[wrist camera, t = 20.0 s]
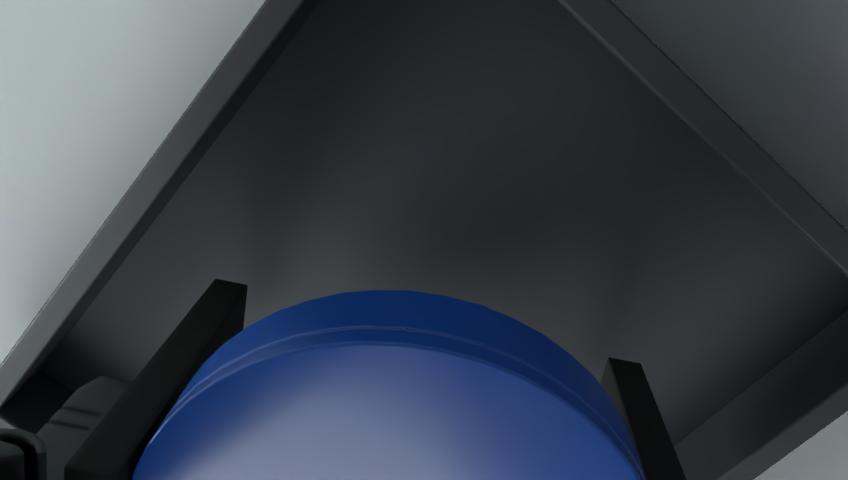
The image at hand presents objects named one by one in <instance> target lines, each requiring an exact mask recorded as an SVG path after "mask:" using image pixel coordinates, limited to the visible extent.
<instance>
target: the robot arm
mask: <svg viewBox="0 0 848 480" xmlns="http://www.w3.org/2000/svg"><path fill="white" fill-rule="evenodd" d="M247 289H248V285H245V284H240V283H235V282H230V281H225V280H220V279H215V280H214V281H213V282H212V283H211V285H210V286H209V287H208V288H207V290H206V291H205V292H204V293H203V295H202V296H201V297H200V298H199V300H198V301H197V302H196V303H195V305H194V306H193V307H192V308H191V310H190V311H189V312H188V313H187V315H186V316H185V317H184V318H183V320H182V321H181V322H180V323H179V325H178V326H177V327H176V328H175V330H174V331H173V332H172V333H171V335H170V336H169V337H168V338H167V340H166V341H165V342H164V343H163V345H162V346H161V347H160V348H159V350H158V351H157V352H156V353H155V355H154V356H153V357H152V358H151V359H150V361H149V362H148V363H147V364H146V366H145V367H144V368H143V369H142V371H141V372H140V373H139V374H138V376H137V377H136V378H135V379H134V381H133V382H132V381H127V380H122V379H117V378H112V377H107V376H100V377H98V378H97V379H95V380H93V381H91V382H89V383H87V384H85V385H83V386H82V387H80V388H78V389H77V390H76V391H75V392H74V393H73V394H72V396H71V397H70V398H69V399H68V400H67V401H66V402H65V403H64V404H63V405H62V409H59V410H58V411H57V412H56V413H55V414H54V415H53V416H52V417H51V418H50V420H49V423H46V424H45V425H44V426H43V427H42V428H41V429H40V430H39V432H38V433H37V434H34V433H31V432H28V431H25V430H22V429H7V428H0V480H131V478H132V475H133V472H134V469H135V467H136V465H137V463H138V461H139V459H140V457H141V456H142V454H143V452H144V450H145V448H146V446H147V444H148V443H149V441H150V440H151V438H152V437H153V435H154V434H155V432H156V431H157V430H158V428H159V426H160V425H161V423H162V422H163V420H164V419H165V417H166V416H167V414H168V413H169V411H170V410H171V408H172V407H173V405H174V404H175V402H176V401H177V399H178V398H179V396H180V395H181V393H182V392H183V390H184V389H185V387H186V386H187V385H188V383H189V382H190V381H191V379H192V378H193V377H194V375H195V374H196V372H197V371H198V370H199V368H200V367H201V366H202V364H203V363H204V362H205V361H206V360H208V359H209V358H210V357H211V356H212V355H213V354H214V353H215V352H216V351H217V350H218V349H219V348H220V347H221V346H222V345H223V344H224V343H226V342H227V341H228V340H230V339H231V338H233V337H234V336H235V335H237V334H238V333H240V332H241V331H242V330H243V327H244V317H245V308H246V298H247ZM600 385H601V386H602V387H603V388H604V390H605V391H606V392H607V393H608V395H609V396H610V397H611V399H612V400H613V401H614V403H615V405H616V406H617V408H618V410H619V412H620V413H621V415H622V417H623V419H624V420H625V422H626V424H627V426H628V428H629V430H630V433H631V436H632V438H633V441H634V444H635V446H636V449H637V451H638V454H639V458H640V461H641V464H642V467H643V470H644V473H645V477H646V480H687V479H686V477H685V474H684V472H683V469H682V467H681V464H680V462H679V459H678V456H677V454H676V451H675V449H674V446H673V444H672V441H671V439H670V436H669V434H668V431H667V429H666V426H665V424H664V421H663V419H662V416H661V413H660V411H659V408H658V406H657V403H656V401H655V398H654V396H653V393H652V391H651V388H650V386H649V383H648V381H647V378H646V376H645V373H644V370H643V368H642V365H641V363H636V362H631V361H626V360H621V359H616V358H611V357H608V360H607V363H606V366H605V369H604V372H603V375H602V378H601V381H600Z"/></svg>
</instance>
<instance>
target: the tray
mask: <svg viewBox="0 0 848 480" xmlns="http://www.w3.org/2000/svg"><path fill="white" fill-rule="evenodd" d="M215 279H220V280H225V281H230V282H235V283H240V284H245V285H248V289H247V298H246V308H245V317H244V327H243V330H244V329H245V328H246V327H248V326H250V325H252V324H254V323H256V322H257V321H259V320H261V319H263V318H265V317H267V316H269V315H271V314H273V313H274V312H277V311H279V310H282V309H285V308H288V307H291V306H294V305H296V304H299V303H302V302H305V301H308V300H312V299H317V298H321V297H326V296H330V295H334V294H337V293H343V292H357V291H368V290H410V291H419V292H424V293H431V294H438V295H445V296H449V297H453V298H457V299H461V300H464V301H468V302H473V303H478V304H480V305H484V306H486V307H488V308H490V309H492V310H495V311H497V312H500V313H502V314H505V315H507V316H510V317H512V318H514V319H516V320H518V321H520V322H521V323H523V324H525V325H527V326H529V327H531V328H532V329H534V330H537V331H539V332H541V333H542V334H543V335H545V336H547V337H548V338H549V339H550V340H552V341H553V342H554V343H556V344H557V345H559V346H560V347H561V348H563V349H564V350H565V351H567V352H568V353H570V354H571V355H572V356H573V357H574V358H575V359H576V360H577V361H578V362H579V363H580V364H581V365H583V366H584V367H585V368H586V369H587V370H588V371H589V372H590V373H591V374H592V375H593V376H594V377H595V378H596V380H597V381H598V382H599V383H600V381H601V378H602V375H603V372H604V369H605V366H606V363H607V360H608V357H611V358H616V359H621V360H626V361H631V362H636V363H641V365H642V368H643V370H644V373H645V376H646V378H647V381H648V383H649V386H650V388H651V391H652V393H653V396H654V398H655V401H656V403H657V406H658V408H659V411H660V413H661V416H662V419H663V421H664V424H665V426H666V429H667V431H668V434H669V436H670V439H671V441H672V444H673V446H674V449H675V451H676V454H677V456H678V459H679V462H680V464H681V467H682V469H683V472H684V474H685V477H686V479H687V480H753V479H754V478H756V477H757V476H759V475H760V474H761V473H763V472H764V471H765V470H767V469H768V468H770V467H771V466H772V465H774V464H775V463H776V462H778V461H779V460H780V459H782V458H783V457H785V456H786V455H787V454H789V453H790V452H791V451H793V450H794V449H796V448H797V447H798V446H800V445H801V444H802V443H804V442H805V441H807V440H808V439H809V438H811V437H812V436H813V435H815V434H816V433H818V432H819V431H820V430H822V429H823V428H824V427H826V426H827V425H829V424H830V423H831V422H833V421H834V420H835V419H837V418H838V417H840V416H841V415H842V414H844V413H845V412H846V411H848V231H847V230H846V229H845V228H844V227H843V226H842V225H841V224H840V223H839V222H838V221H837V220H836V219H834V218H833V217H832V216H831V215H830V214H829V213H828V212H827V211H826V210H825V209H824V208H823V207H822V206H821V205H820V204H819V203H818V202H817V201H816V200H815V199H814V198H813V197H812V196H811V195H810V194H809V193H808V192H807V191H806V190H805V189H804V188H803V187H802V186H801V185H800V184H799V183H797V182H796V181H795V180H794V179H793V178H792V177H791V176H790V175H789V174H788V173H787V172H786V171H785V170H784V169H783V168H782V167H781V166H780V165H779V164H778V163H777V162H776V161H775V160H774V159H773V158H772V157H771V156H770V155H769V154H768V153H767V152H766V151H765V150H764V149H763V148H762V147H760V146H759V145H758V144H757V143H756V142H755V141H754V140H753V139H752V138H751V137H750V136H749V135H748V134H747V133H746V132H745V131H744V130H743V129H742V128H741V127H740V126H739V125H738V124H737V123H736V122H735V121H734V120H733V119H732V118H731V117H730V116H729V115H728V114H727V113H726V112H724V111H723V110H722V109H721V108H720V107H719V106H718V105H717V104H716V103H715V102H714V101H713V100H712V99H711V98H710V97H709V96H708V95H707V94H706V93H705V92H704V91H703V90H702V89H701V88H700V87H699V86H698V85H697V84H696V83H695V82H694V81H693V80H692V79H691V78H690V77H689V76H687V75H686V74H685V73H684V72H683V71H682V70H681V69H680V68H679V67H678V66H677V65H676V64H675V63H674V62H673V61H672V60H671V59H670V58H669V57H668V56H667V55H666V54H665V53H664V52H663V51H662V50H661V49H660V48H659V47H658V46H657V45H656V44H655V43H654V42H653V41H651V40H650V39H649V38H648V37H647V36H646V35H645V34H644V33H643V32H642V31H641V30H640V29H639V28H638V27H637V26H636V25H635V24H634V23H633V22H632V21H631V20H630V19H629V18H628V17H627V16H626V15H625V14H624V13H623V12H622V11H621V10H620V9H619V8H618V7H617V6H616V5H614V4H613V3H612V2H611V1H610V0H266V1H265V2H264V4H263V5H262V6H261V8H260V9H259V10H258V12H257V13H256V15H255V16H254V17H253V19H252V20H251V21H250V23H249V24H248V26H247V27H246V28H245V30H244V31H243V32H242V34H241V35H240V37H239V38H238V39H237V41H236V42H235V43H234V45H233V46H232V48H231V49H230V50H229V52H228V53H227V54H226V56H225V57H224V59H223V60H222V61H221V63H220V64H219V65H218V67H217V68H216V70H215V71H214V72H213V74H212V75H211V76H210V78H209V79H208V81H207V82H206V83H205V85H204V86H203V87H202V89H201V90H200V91H199V93H198V94H197V96H196V97H195V98H194V100H193V101H192V102H191V104H190V105H189V107H188V108H187V109H186V111H185V112H184V113H183V115H182V116H181V118H180V119H179V120H178V122H177V123H176V124H175V126H174V127H173V129H172V130H171V131H170V133H169V134H168V135H167V137H166V138H165V140H164V141H163V142H162V144H161V145H160V146H159V148H158V149H157V151H156V152H155V153H154V155H153V156H152V157H151V159H150V160H149V162H148V163H147V164H146V166H145V167H144V168H143V170H142V171H141V173H140V174H139V175H138V177H137V178H136V179H135V181H134V182H133V184H132V185H131V186H130V188H129V189H128V190H127V192H126V193H125V194H124V196H123V197H122V199H121V200H120V201H119V203H118V204H117V205H116V207H115V208H114V210H113V211H112V212H111V214H110V215H109V216H108V218H107V219H106V221H105V222H104V223H103V225H102V226H101V227H100V229H99V230H98V232H97V233H96V234H95V236H94V237H93V238H92V240H91V241H90V243H89V244H88V245H87V247H86V248H85V249H84V251H83V252H82V254H81V255H80V256H79V258H78V259H77V260H76V262H75V263H74V265H73V266H72V267H71V269H70V270H69V271H68V273H67V274H66V276H65V277H64V278H63V280H62V281H61V282H60V284H59V285H58V286H57V288H56V289H55V291H54V292H53V293H52V295H51V296H50V297H49V299H48V300H47V302H46V303H45V304H44V306H43V307H42V308H41V310H40V311H39V313H38V314H37V315H36V317H35V318H34V319H33V321H32V322H31V324H30V325H29V326H28V328H27V329H26V330H25V332H24V333H23V335H22V336H21V337H20V339H19V340H18V341H17V343H16V344H15V346H14V347H13V348H12V350H11V351H10V352H9V354H8V355H7V357H6V358H5V359H4V361H3V362H2V363H1V365H0V428H7V429H22V430H25V431H28V432H31V433H34V434H37V433H38V432H39V430H40V429H41V428H42V427H43V426H44V425H45V424H46V423H49V420H50V418H51V417H52V416H53V415H54V414H55V413H56V412H57V411H58V410H59V409H62V405H63V404H64V403H65V402H66V401H67V400H68V399H69V398H70V397H71V396H72V394H73V393H74V392H75V391H76V390H77V389H78V388H80V387H82V386H83V385H85V384H87V383H89V382H91V381H93V380H95V379H97V378H98V377H100V376H107V377H112V378H117V379H122V380H127V381H132V382H133V381H134V379H135V378H136V377H137V376H138V374H139V373H140V372H141V371H142V369H143V368H144V367H145V366H146V364H147V363H148V362H149V361H150V359H151V358H152V357H153V356H154V355H155V353H156V352H157V351H158V350H159V348H160V347H161V346H162V345H163V343H164V342H165V341H166V340H167V338H168V337H169V336H170V335H171V333H172V332H173V331H174V330H175V328H176V327H177V326H178V325H179V323H180V322H181V321H182V320H183V318H184V317H185V316H186V315H187V313H188V312H189V311H190V310H191V308H192V307H193V306H194V305H195V303H196V302H197V301H198V300H199V298H200V297H201V296H202V295H203V293H204V292H205V291H206V290H207V288H208V287H209V286H210V285H211V283H212V282H213V281H214V280H215Z"/></svg>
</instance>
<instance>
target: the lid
mask: <svg viewBox="0 0 848 480" xmlns="http://www.w3.org/2000/svg"><path fill="white" fill-rule="evenodd" d="M131 480H646V477H645V473H644V470H643V467H642V464H641V461H640V458H639V454H638V451H637V449H636V446H635V444H634V441H633V438H632V436H631V433H630V430H629V428H628V426H627V424H626V422H625V420H624V419H623V417H622V415H621V413H620V412H619V410H618V408H617V406H616V405H615V403H614V401H613V400H612V399H611V397H610V396H609V395H608V393H607V392H606V391H605V390H604V388H603V387H602V386H601V385H600V383H599V382H598V381H597V380H596V378H595V377H594V376H593V375H592V374H591V373H590V372H589V371H588V370H587V369H586V368H585V367H584V366H583V365H581V364H580V363H579V362H578V361H577V360H576V359H575V358H574V357H573V356H572V355H571V354H570V353H568V352H567V351H565V350H564V349H563V348H561V347H560V346H559V345H557V344H556V343H554V342H553V341H552V340H550V339H549V338H548V337H547V336H545V335H543V334H542V333H541V332H539V331H537V330H534V329H532V328H531V327H529V326H527V325H525V324H523V323H521V322H520V321H518V320H516V319H514V318H512V317H510V316H507V315H505V314H502V313H500V312H497V311H495V310H492V309H490V308H488V307H486V306H484V305H480V304H478V303H473V302H468V301H464V300H461V299H457V298H453V297H449V296H445V295H438V294H431V293H424V292H419V291H410V290H368V291H357V292H343V293H337V294H334V295H330V296H326V297H321V298H317V299H312V300H308V301H305V302H302V303H299V304H296V305H294V306H291V307H288V308H285V309H282V310H279V311H277V312H274V313H273V314H271V315H269V316H267V317H265V318H263V319H261V320H259V321H257V322H256V323H254V324H252V325H250V326H248V327H246V328H245V329H244V330H242V331H241V332H240V333H238V334H237V335H235V336H234V337H233V338H231V339H230V340H228V341H227V342H226V343H224V344H223V345H222V346H221V347H220V348H219V349H218V350H217V351H216V352H215V353H214V354H213V355H212V356H211V357H210V358H209V359H208V360H206V361H205V362H204V363H203V364H202V366H201V367H200V368H199V370H198V371H197V372H196V374H195V375H194V377H193V378H192V379H191V381H190V382H189V383H188V385H187V386H186V387H185V389H184V390H183V392H182V393H181V395H180V396H179V398H178V399H177V401H176V402H175V404H174V405H173V407H172V408H171V410H170V411H169V413H168V414H167V416H166V417H165V419H164V420H163V422H162V423H161V425H160V426H159V428H158V430H157V431H156V432H155V434H154V435H153V437H152V438H151V440H150V441H149V443H148V444H147V446H146V448H145V450H144V452H143V454H142V456H141V457H140V459H139V461H138V463H137V465H136V467H135V469H134V472H133V475H132V478H131Z"/></svg>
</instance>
